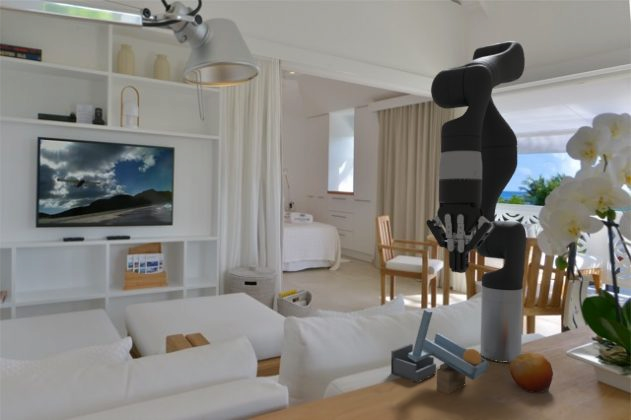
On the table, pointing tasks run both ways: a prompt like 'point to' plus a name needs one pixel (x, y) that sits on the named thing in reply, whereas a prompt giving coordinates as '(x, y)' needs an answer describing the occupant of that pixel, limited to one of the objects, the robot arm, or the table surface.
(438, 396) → the table surface
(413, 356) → the lever
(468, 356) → the ball
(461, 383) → the fulcrum
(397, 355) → the tray
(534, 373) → the fruit
